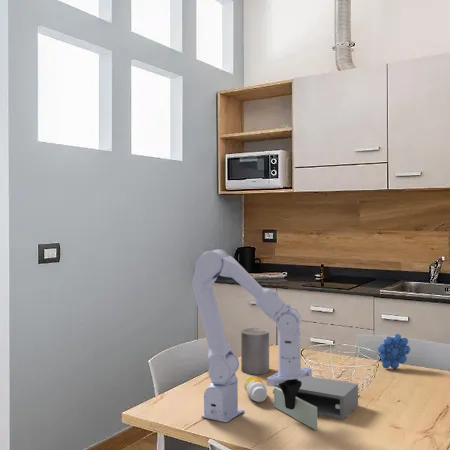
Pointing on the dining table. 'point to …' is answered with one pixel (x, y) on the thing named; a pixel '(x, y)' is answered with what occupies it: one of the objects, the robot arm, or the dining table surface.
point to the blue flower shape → (393, 351)
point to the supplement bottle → (255, 388)
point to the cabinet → (329, 396)
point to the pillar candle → (255, 351)
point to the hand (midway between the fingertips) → (290, 408)
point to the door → (296, 409)
